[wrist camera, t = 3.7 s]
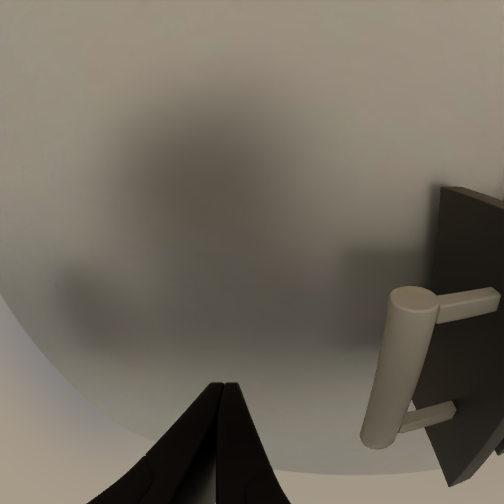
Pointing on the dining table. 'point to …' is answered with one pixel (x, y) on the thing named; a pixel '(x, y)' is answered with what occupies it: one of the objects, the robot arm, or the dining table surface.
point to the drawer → (448, 344)
